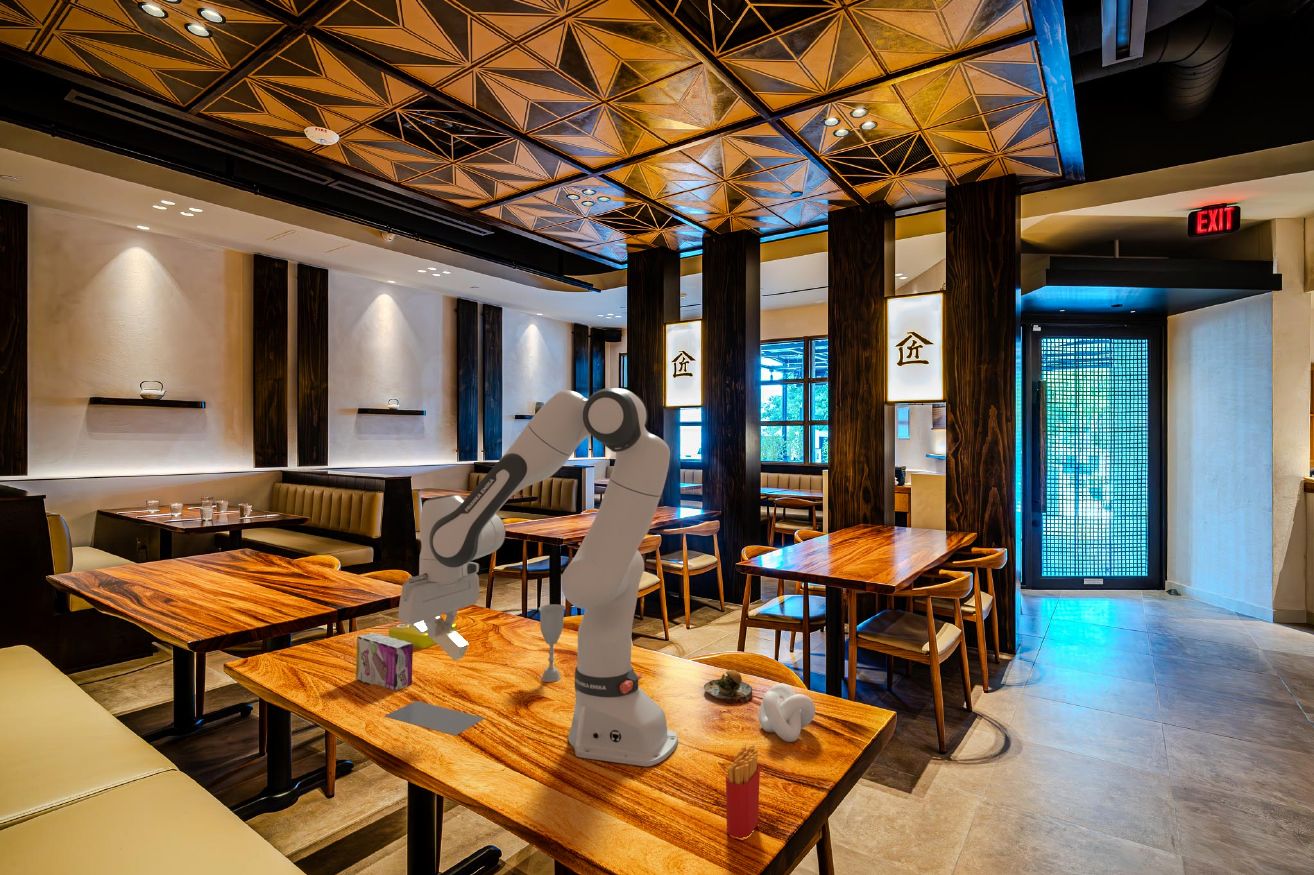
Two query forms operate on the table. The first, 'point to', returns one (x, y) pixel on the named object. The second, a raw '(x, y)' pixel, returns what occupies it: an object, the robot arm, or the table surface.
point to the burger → (730, 688)
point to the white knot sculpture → (785, 712)
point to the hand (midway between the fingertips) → (440, 634)
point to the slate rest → (435, 717)
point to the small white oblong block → (446, 638)
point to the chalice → (551, 635)
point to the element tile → (413, 635)
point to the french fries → (743, 793)
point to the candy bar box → (384, 661)
